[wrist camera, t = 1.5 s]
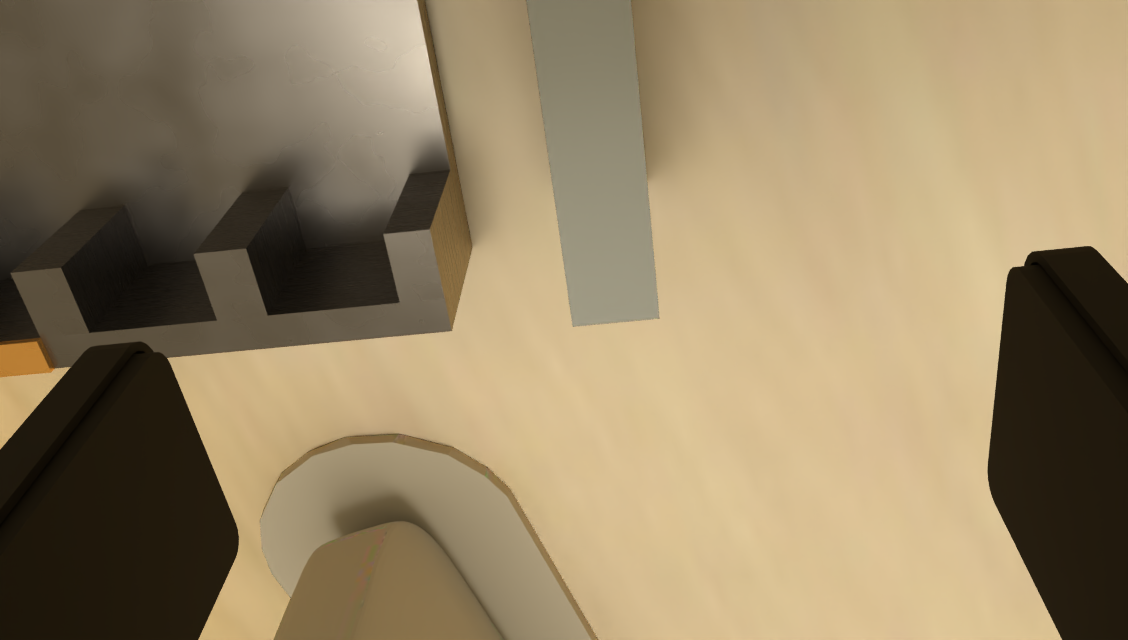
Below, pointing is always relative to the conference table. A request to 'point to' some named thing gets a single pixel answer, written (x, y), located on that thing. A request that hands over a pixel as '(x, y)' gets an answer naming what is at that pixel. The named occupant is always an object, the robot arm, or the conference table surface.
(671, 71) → the conference table surface
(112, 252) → the rack
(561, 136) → the panel
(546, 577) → the wireless router
